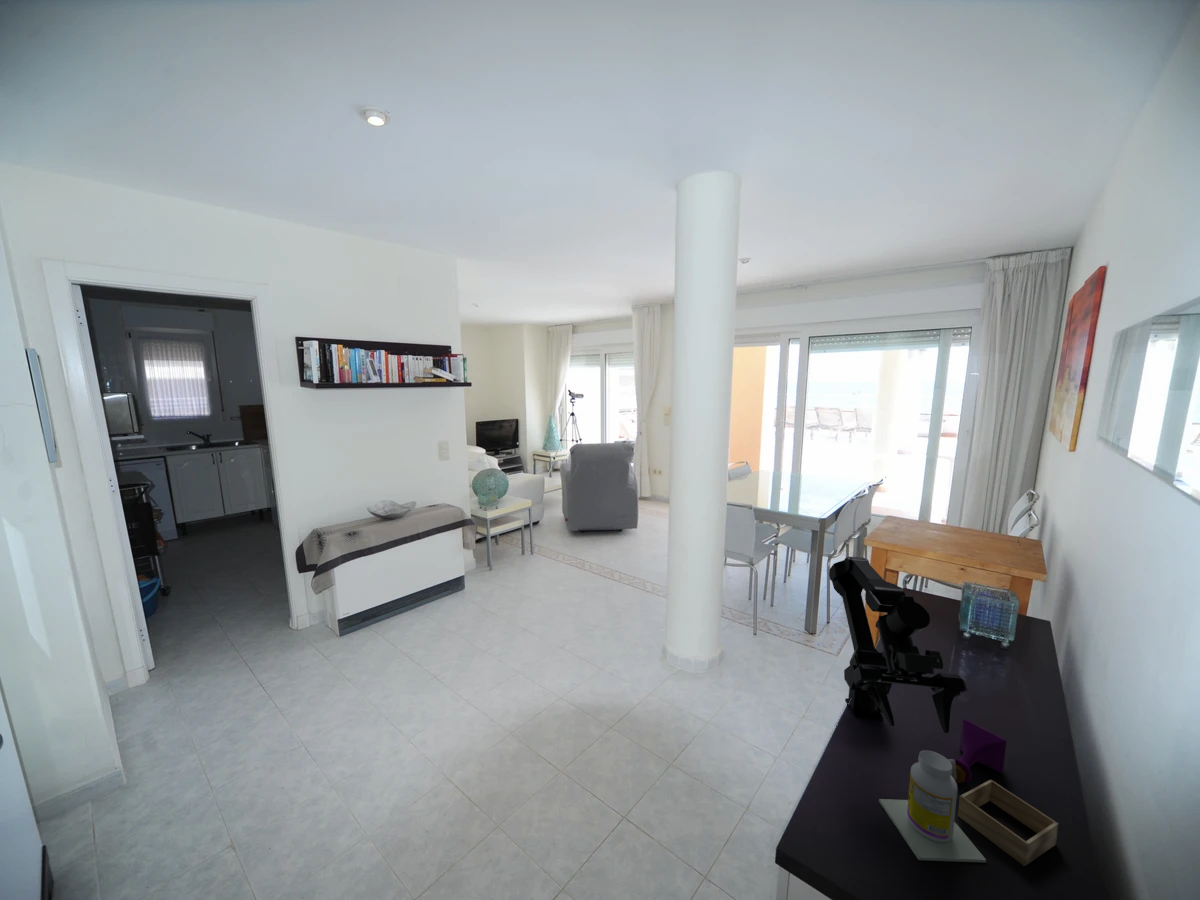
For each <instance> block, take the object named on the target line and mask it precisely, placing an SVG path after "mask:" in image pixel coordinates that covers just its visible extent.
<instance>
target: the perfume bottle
mask: <svg viewBox="0 0 1200 900" xmlns="http://www.w3.org/2000/svg"><path fill="white" fill-rule="evenodd" d="M961 721H962V722H961V731H960V740H959V741H960V742H959V751H961V753H962V755H961V757H960V758H959V759H958V758H949V759H948V758H947V759H948V760H949V761H950V763H951V765H952V774H951V776H952V777H953V778H954V780H955V782H956V784H962V783H967V782H970V781H971V780H972V779H973V774H972V773H973V772H972V771H971V769H970V768H971V767H972V766H974V764H975V763H979V764H981V765H984V766H986V767H988V768H990V769H991V770H993V771H995V772H996V773H999V774H1000V775H1001V774H1002V775H1003V774H1004V766H1005V757H1006V750H1007V740H1006V739H1004V738H1003V737H1001V736H1000V735H998V734H996V733H994V732H992V731H991V730H988V729H986V728H984V727H983V726H981V725H978V724H976V723H974V722H972V721H969V720H967V719H966V718H962V720H961Z"/></svg>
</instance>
